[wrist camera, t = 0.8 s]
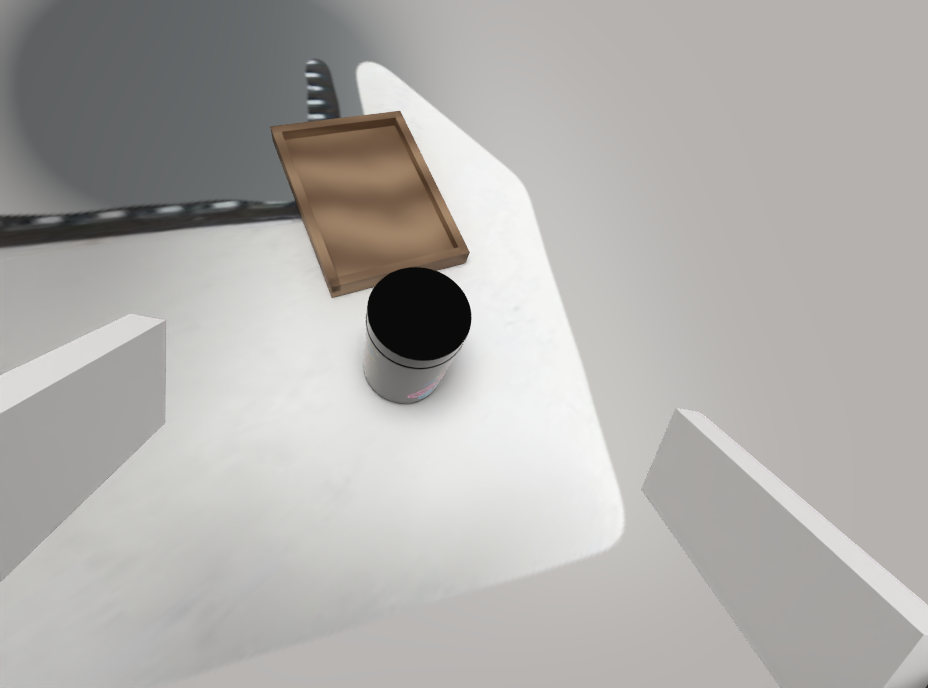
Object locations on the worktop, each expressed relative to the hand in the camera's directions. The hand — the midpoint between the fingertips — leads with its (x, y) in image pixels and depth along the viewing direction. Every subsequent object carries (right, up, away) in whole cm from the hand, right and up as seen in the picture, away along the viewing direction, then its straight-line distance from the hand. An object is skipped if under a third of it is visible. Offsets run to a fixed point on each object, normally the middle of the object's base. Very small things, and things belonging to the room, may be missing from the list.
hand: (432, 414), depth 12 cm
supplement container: (-4, 0, +27) cm, 27 cm away
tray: (-8, +16, +32) cm, 37 cm away
